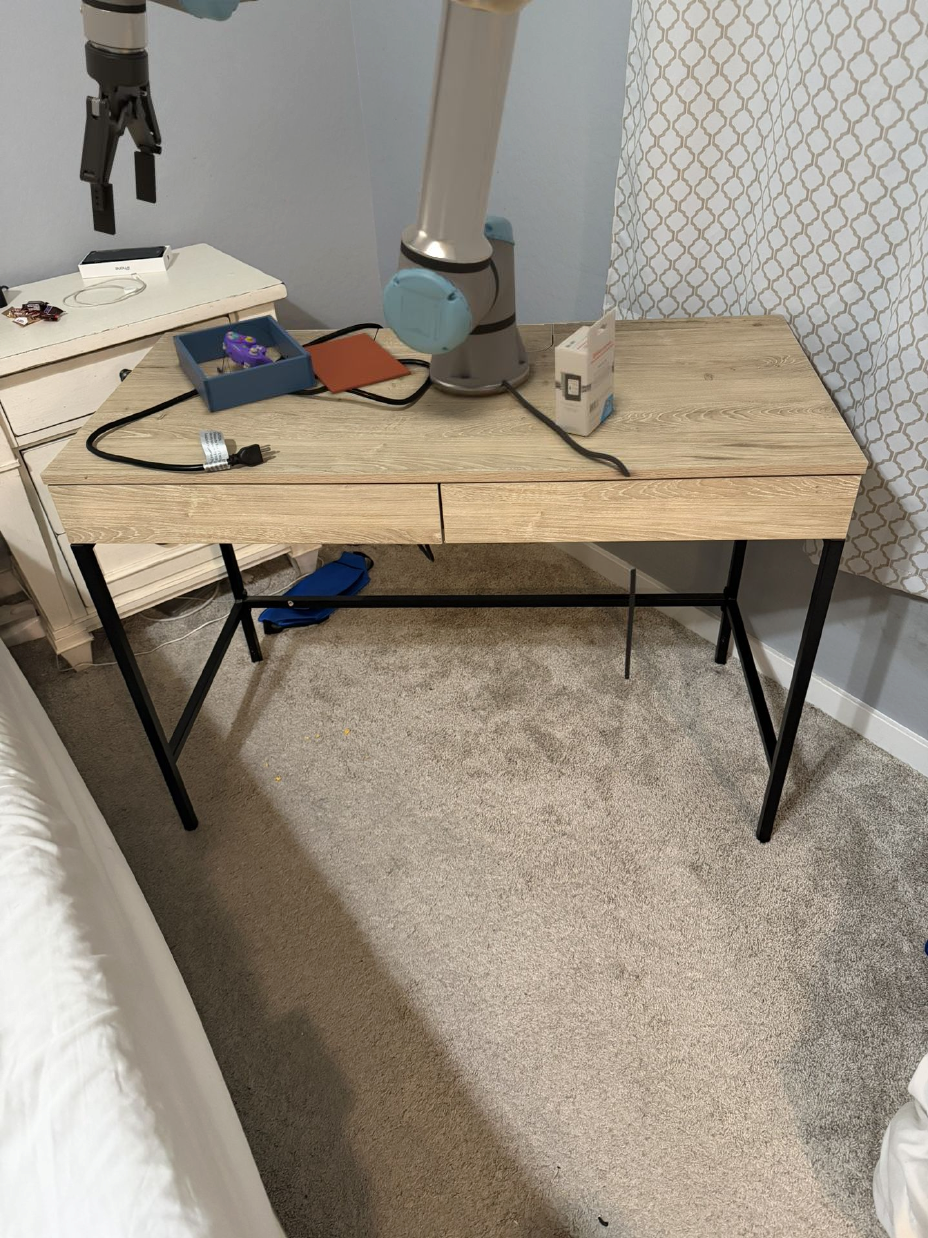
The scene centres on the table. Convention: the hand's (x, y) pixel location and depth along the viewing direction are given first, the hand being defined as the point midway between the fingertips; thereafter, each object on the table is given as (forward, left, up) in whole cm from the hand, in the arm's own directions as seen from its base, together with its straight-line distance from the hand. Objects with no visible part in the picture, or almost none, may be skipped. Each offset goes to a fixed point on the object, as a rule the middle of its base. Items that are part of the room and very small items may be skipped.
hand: (126, 215), depth 129 cm
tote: (-2, -11, -26) cm, 28 cm away
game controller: (-2, -11, -26) cm, 28 cm away
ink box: (-46, -47, -26) cm, 71 cm away
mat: (-7, -27, -26) cm, 38 cm away
